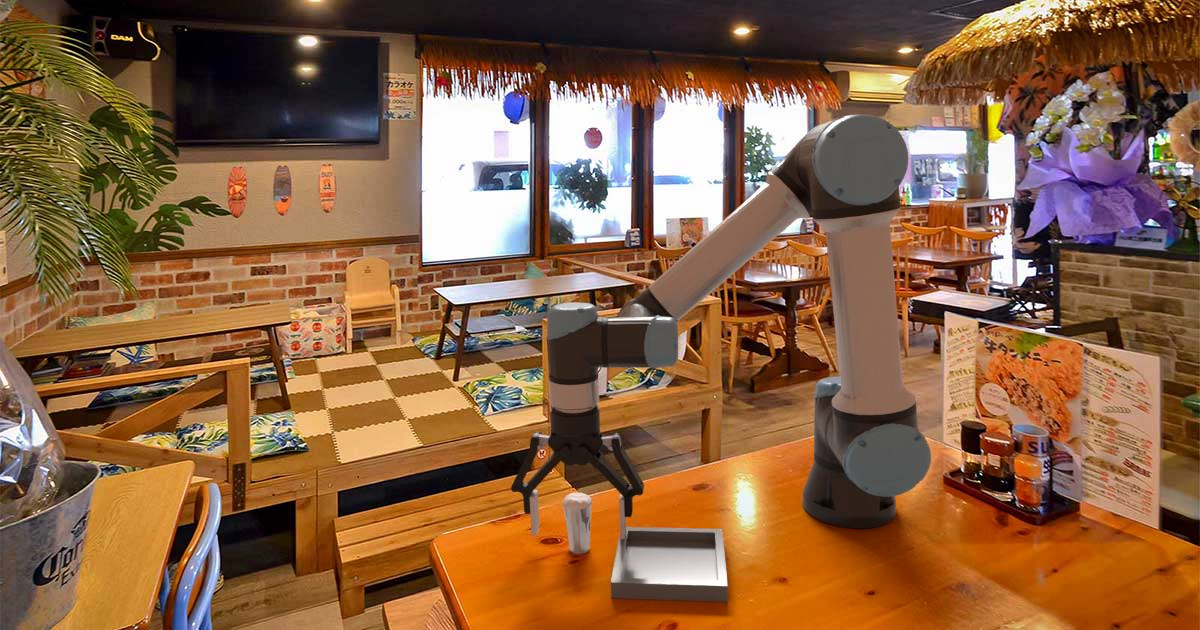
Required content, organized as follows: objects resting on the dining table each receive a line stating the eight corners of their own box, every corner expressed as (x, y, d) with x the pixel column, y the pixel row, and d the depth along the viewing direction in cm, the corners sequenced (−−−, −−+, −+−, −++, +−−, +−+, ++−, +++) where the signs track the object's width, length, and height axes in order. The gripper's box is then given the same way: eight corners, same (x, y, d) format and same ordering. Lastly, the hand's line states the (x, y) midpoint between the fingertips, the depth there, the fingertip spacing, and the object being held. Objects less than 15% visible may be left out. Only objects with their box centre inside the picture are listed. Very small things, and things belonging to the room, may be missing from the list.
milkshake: (595, 557, 110) (593, 497, 108) (562, 555, 111) (558, 495, 109) (601, 543, 115) (599, 484, 113) (569, 541, 116) (566, 483, 114)
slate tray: (722, 542, 113) (722, 529, 113) (727, 602, 98) (727, 586, 97) (621, 540, 115) (621, 526, 115) (611, 598, 100) (610, 582, 99)
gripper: (658, 398, 111) (660, 524, 115) (499, 396, 114) (506, 519, 118) (656, 414, 103) (658, 548, 107) (487, 412, 106) (494, 542, 110)
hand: (579, 534), depth 112 cm, fingers open, 13 cm apart
